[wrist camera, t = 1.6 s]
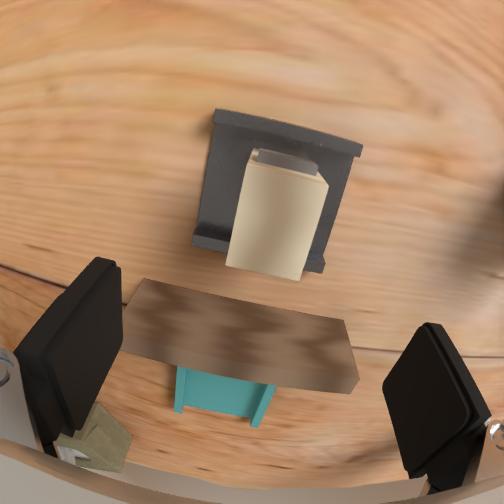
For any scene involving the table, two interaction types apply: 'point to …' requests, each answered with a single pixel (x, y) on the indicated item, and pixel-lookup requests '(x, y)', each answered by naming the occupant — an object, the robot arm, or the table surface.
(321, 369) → the door panel
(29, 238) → the table surface
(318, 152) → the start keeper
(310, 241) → the block
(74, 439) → the tissue box
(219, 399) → the teal square tray
